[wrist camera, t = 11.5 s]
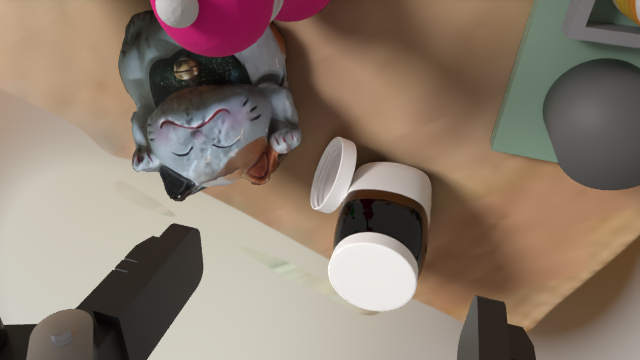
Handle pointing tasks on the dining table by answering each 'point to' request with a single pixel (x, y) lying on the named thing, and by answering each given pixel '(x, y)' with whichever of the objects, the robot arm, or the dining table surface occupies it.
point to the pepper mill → (226, 21)
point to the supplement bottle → (629, 9)
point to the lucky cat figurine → (206, 109)
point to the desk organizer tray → (576, 93)
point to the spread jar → (373, 226)
